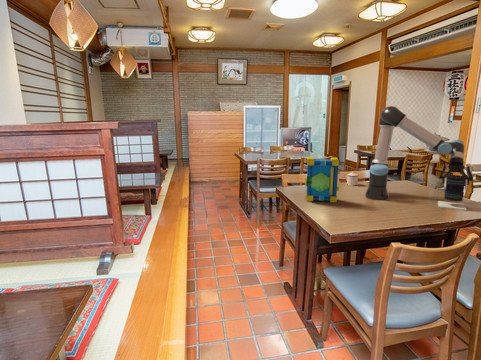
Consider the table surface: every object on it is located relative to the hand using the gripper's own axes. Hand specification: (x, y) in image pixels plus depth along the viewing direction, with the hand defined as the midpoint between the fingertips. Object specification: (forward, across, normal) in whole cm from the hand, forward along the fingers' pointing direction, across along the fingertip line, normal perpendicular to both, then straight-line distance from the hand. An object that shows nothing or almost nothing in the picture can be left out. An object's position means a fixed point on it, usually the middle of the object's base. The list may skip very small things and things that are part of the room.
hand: (455, 188), depth 175 cm
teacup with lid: (-18, +70, -36) cm, 80 cm away
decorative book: (+27, +76, +9) cm, 81 cm away
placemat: (+7, 0, -11) cm, 13 cm away
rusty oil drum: (+4, 0, -8) cm, 9 cm away
